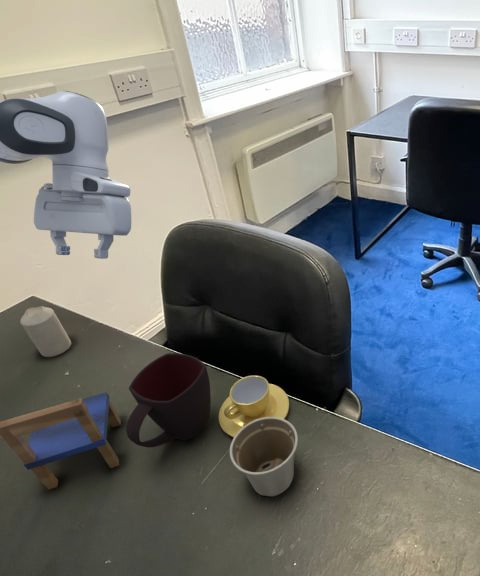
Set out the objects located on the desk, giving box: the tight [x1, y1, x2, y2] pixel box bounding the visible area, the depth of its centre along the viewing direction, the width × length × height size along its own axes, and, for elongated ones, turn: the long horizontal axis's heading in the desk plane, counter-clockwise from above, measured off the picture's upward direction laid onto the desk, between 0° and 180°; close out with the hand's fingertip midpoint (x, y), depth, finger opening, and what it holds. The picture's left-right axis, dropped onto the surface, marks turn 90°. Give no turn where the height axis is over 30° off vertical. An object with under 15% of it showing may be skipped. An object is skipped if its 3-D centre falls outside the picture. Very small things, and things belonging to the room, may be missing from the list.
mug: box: [125, 352, 212, 448], centre depth 70 cm, size 10×14×12 cm
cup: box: [218, 374, 290, 438], centre depth 75 cm, size 12×12×5 cm
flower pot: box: [229, 417, 299, 497], centre depth 65 cm, size 9×9×9 cm
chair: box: [0, 391, 122, 490], centre depth 67 cm, size 10×10×15 cm
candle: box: [19, 305, 72, 358], centre depth 88 cm, size 6×6×10 cm
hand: (81, 256), depth 85 cm, fingers open, 8 cm apart
